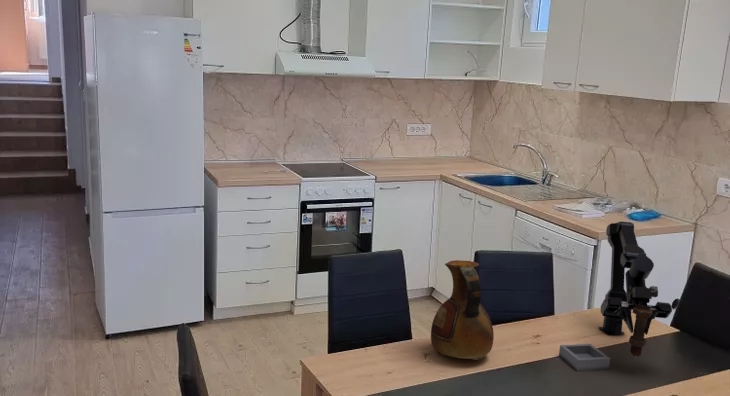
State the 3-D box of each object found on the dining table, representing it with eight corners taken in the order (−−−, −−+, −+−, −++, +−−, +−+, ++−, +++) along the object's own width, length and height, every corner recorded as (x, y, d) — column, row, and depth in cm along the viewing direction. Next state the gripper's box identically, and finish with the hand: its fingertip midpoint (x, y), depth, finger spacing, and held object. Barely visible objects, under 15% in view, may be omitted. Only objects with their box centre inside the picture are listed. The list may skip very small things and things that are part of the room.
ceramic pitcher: (473, 338, 220) (481, 253, 214) (503, 364, 201) (513, 271, 195) (419, 343, 214) (426, 255, 208) (446, 370, 195) (454, 274, 189)
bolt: (642, 352, 202) (650, 307, 199) (647, 359, 198) (655, 313, 194) (623, 349, 203) (631, 304, 200) (627, 357, 198) (635, 311, 195)
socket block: (558, 355, 210) (560, 345, 210) (589, 353, 213) (590, 343, 212) (577, 370, 200) (578, 360, 199) (608, 369, 202) (610, 358, 202)
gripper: (610, 272, 201) (613, 319, 192) (675, 278, 198) (680, 326, 189) (602, 288, 210) (604, 333, 201) (664, 294, 207) (668, 340, 198)
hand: (639, 333), depth 197 cm, fingers closed on bolt, 4 cm apart
